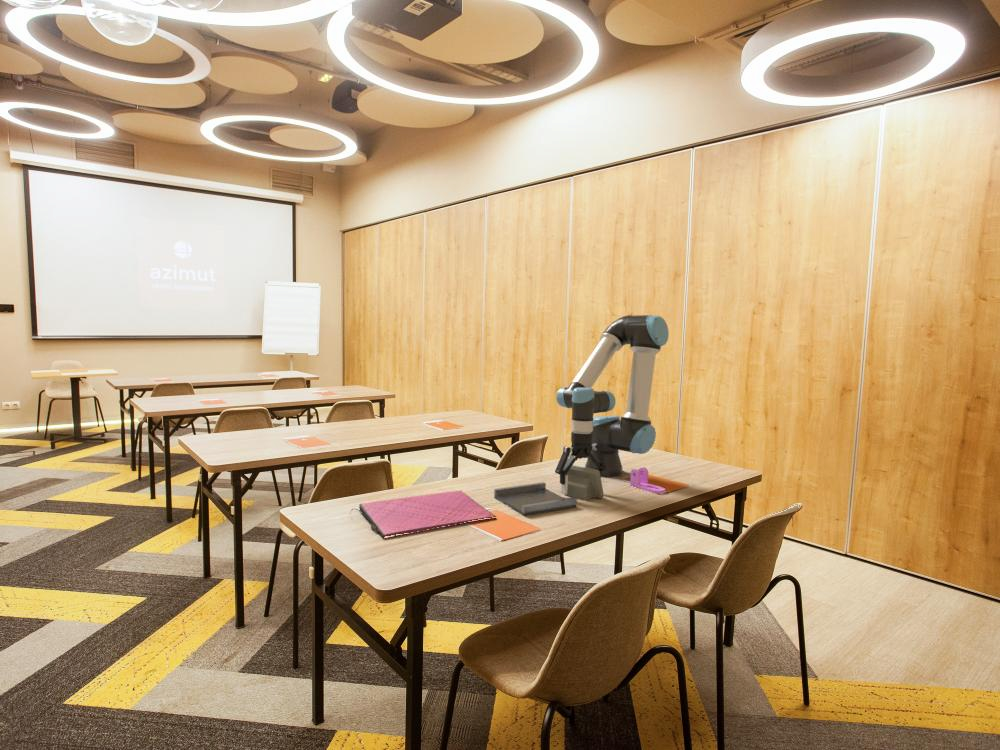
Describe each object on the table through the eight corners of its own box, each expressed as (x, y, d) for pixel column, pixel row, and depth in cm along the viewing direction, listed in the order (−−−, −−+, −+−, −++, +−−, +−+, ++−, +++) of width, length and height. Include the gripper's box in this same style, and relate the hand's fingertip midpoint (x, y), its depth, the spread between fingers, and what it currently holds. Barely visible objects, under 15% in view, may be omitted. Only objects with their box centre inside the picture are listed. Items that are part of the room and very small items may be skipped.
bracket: (630, 486, 212) (630, 468, 211) (640, 484, 215) (640, 466, 215) (658, 495, 201) (658, 476, 201) (668, 492, 205) (668, 474, 204)
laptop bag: (460, 485, 198) (497, 510, 175) (460, 496, 199) (496, 522, 175) (346, 500, 179) (369, 530, 156) (346, 512, 180) (369, 544, 156)
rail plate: (543, 490, 206) (543, 482, 205) (576, 507, 187) (576, 498, 187) (494, 497, 196) (494, 489, 196) (524, 516, 178) (524, 506, 178)
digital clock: (606, 498, 197) (607, 468, 196) (588, 503, 191) (589, 472, 190) (572, 487, 209) (573, 459, 208) (555, 492, 204) (555, 463, 203)
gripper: (604, 427, 207) (602, 484, 209) (546, 432, 196) (544, 492, 198) (617, 431, 201) (615, 489, 202) (558, 436, 189) (556, 498, 191)
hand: (580, 490), depth 200 cm, fingers open, 13 cm apart
